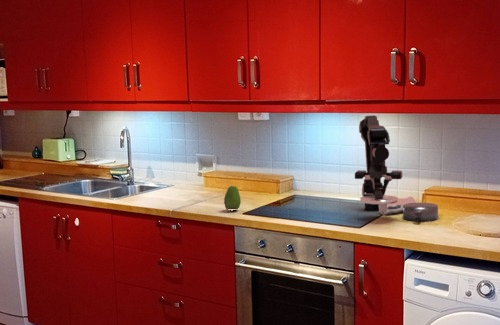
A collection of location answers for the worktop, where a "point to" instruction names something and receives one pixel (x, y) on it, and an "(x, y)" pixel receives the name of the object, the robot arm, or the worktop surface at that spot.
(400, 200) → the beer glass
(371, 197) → the lid
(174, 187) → the worktop surface
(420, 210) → the pot
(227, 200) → the avocado
